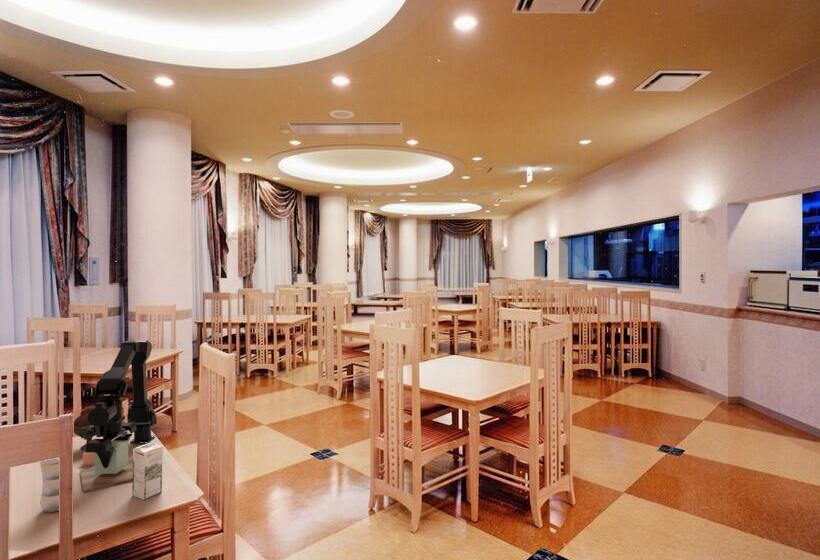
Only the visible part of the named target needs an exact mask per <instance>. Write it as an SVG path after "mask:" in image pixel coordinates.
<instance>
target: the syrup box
mask: <svg viewBox="0 0 820 560" xmlns="http://www.w3.org/2000/svg"><path fill="white" fill-rule="evenodd" d="M163 448H164V447H163V446H162V445H160V444H158V443H156V442H153V441H152V442H151V441H150V442H148V443H144V444H143V445H139V446H137V447H134V448H132V459H133V481H132V482H131V483H132V491H131V492H132V493H131V495H132V496H133V497H135V498H139V499H140V500H143V501H145V500H147V499H150V498H152V497H154V496H156V495H158V494H160V493H162V492H163V491H162V490H163V450H164V449H163Z"/></svg>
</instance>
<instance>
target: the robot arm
mask: <svg viewBox="0 0 820 560" xmlns="http://www.w3.org/2000/svg"><path fill="white" fill-rule="evenodd" d="M119 348H120V349H119V351H118V353H117V355H116V357H115V359H114V362H113V363H112V365H111V367H110V369H108V370H107V371H105V372H104V373H102V375H101V376H100V378H99V380H97V381H96V385H95V388H94V393H93V397H92V399H91V401H92V403H95V404H94V406H95V408H94V409H92V410H91V411H90V412H89V414H88V421H89V423H90V424H92V425H91V426H86V427H83V428H81V429H80V435H79V436H78V437H80V438H81V439H83V440H85V441H87V439H88V438H90V437H96V438H94V439H93V438H92V441H90V442H88V443H87V444H86V443H85V444H86V445H85V444H84V445H85V451H84V452H85V453H96V454H97V455H98V457H99V459H100V461H101V463H102V465H103V468H107V467H108V465H109V463H110V459H111V456H112V453H113V450H114V447H111V446H112V441H128V442H129V443H130V444H141V443H140V442H148V441H149V442H151V441H152V440H153V439H154V438H155V437H154V436H155V435H152V427H153V426H155V425H157V424H158V419H157V418H158V416H157V414H156V412H155V409H154V407H153V406H154V405H153V403H152V402H151V400H149V398H148V384H147V383H148V380H147V379H148V378H147V361H148V359H149V358H150V357H151V353H152V349H153V345H152V343H151V342H149V340H146V339H145V340H143V339H141V340H138V339H137V340H133V339H132V340H124V341H122V342H121V343H120V347H119ZM130 366H131V383H132V386H131V388H132V403H131V405H130V407H128V410H127V414H126V415H127V416H126V415H123V398H124V397H126V396H125V395H126V392H127V389H128V387H129V386H128V385H129V384H128V380H127V378H126V376H127V373H128V371H129V369H130ZM126 417H127V422H123V421H125V419H126ZM132 436H133V439H132V440H130V439H131V437H132ZM152 436H153V437H154V438H153V437H152ZM101 437H102V438H101ZM151 439H152V440H151ZM150 440H151V441H150ZM149 442H148V443H149Z"/></svg>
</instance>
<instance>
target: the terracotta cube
mask: <svg viewBox="0 0 820 560" xmlns="http://www.w3.org/2000/svg"><path fill="white" fill-rule="evenodd" d="M82 465H85V466H87V465H89V466H90V465H92V466H93V465H94V466H95V453H85V451H83V453H82Z"/></svg>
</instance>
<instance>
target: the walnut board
mask: <svg viewBox="0 0 820 560" xmlns="http://www.w3.org/2000/svg"><path fill="white" fill-rule="evenodd" d="M79 473H80V474H79V475H80V481H81V485H82V491H83V492H82V493H88V492H92V491H97V490H101V489H105V488H110V487H113V486H118V485H121V484H126V483H130V482H131V483H132V482H133V458H131V459H128V465H127V466H126V467H124V468H123V469H122V470H121V471H119V472H118V473H117V474H95V466H93V467H90V468H84V469H81V470H79Z"/></svg>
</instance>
